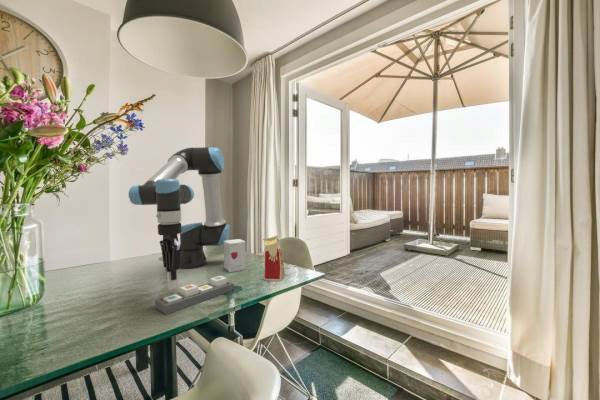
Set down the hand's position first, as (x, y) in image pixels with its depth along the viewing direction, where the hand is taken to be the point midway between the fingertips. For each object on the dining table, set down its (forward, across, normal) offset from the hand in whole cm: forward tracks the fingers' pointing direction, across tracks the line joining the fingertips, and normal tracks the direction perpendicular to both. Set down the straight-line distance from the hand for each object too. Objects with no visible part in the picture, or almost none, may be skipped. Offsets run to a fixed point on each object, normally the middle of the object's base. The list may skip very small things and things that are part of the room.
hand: (172, 288), depth 94 cm
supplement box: (+8, -20, +40) cm, 46 cm away
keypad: (+7, 0, +9) cm, 11 cm away
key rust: (+4, 0, +6) cm, 7 cm away
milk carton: (+7, +6, +43) cm, 44 cm away
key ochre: (+6, 0, +12) cm, 14 cm away
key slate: (+4, 0, +18) cm, 19 cm away
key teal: (+6, 0, 0) cm, 6 cm away
